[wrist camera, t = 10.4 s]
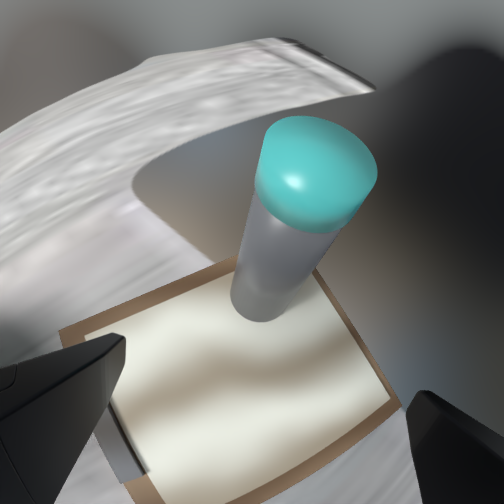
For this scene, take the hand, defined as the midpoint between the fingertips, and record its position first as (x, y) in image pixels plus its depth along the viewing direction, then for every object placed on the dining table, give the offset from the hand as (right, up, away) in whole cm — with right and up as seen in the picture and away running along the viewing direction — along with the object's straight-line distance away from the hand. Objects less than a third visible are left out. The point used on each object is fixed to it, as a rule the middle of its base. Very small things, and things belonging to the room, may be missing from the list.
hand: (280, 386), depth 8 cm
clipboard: (-2, -5, +11) cm, 12 cm away
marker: (0, +1, +13) cm, 13 cm away
